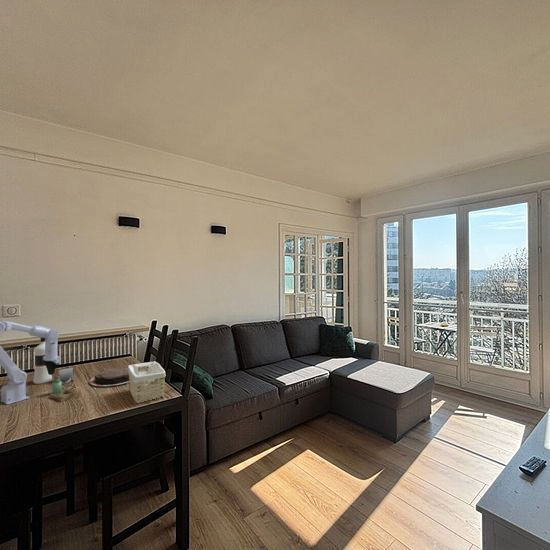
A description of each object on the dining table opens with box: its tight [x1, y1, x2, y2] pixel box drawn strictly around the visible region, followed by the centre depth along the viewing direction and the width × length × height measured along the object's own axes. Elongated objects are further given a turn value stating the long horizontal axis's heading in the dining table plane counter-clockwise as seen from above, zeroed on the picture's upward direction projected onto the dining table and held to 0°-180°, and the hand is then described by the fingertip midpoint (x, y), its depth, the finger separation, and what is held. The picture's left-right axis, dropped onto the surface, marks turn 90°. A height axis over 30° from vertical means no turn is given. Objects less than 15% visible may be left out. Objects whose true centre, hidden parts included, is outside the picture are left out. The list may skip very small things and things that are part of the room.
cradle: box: [49, 388, 82, 403], centre depth 165 cm, size 10×12×2 cm
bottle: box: [51, 376, 63, 395], centre depth 170 cm, size 4×4×9 cm
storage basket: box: [127, 361, 167, 404], centre depth 169 cm, size 24×16×15 cm
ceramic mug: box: [57, 367, 75, 385], centre depth 188 cm, size 11×8×8 cm
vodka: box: [32, 337, 53, 385], centre depth 187 cm, size 9×9×30 cm
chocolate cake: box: [89, 367, 129, 388], centre depth 192 cm, size 28×28×7 cm
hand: (51, 374), depth 173 cm, fingers closed
